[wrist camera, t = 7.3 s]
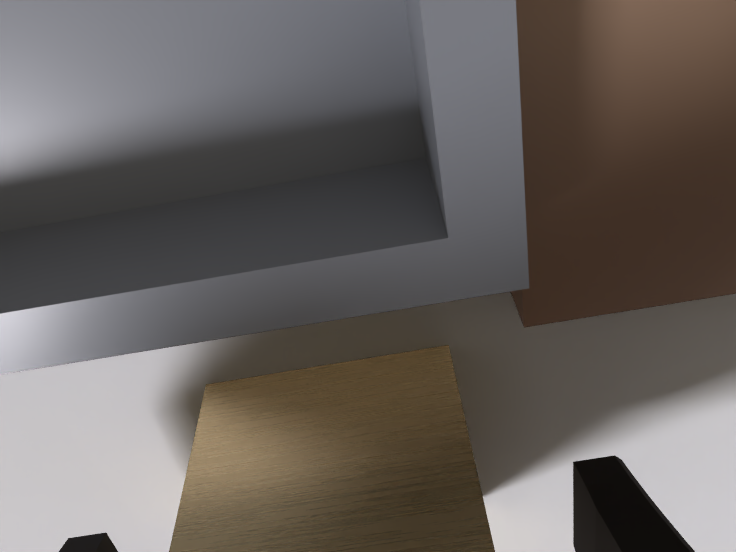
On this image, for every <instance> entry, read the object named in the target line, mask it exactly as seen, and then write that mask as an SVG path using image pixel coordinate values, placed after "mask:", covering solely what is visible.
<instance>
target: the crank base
mask: <svg viewBox="0 0 736 552" xmlns="http://www.w3.org/2000/svg"><path fill="white" fill-rule="evenodd" d="M516 14H517V35H518V57H519V78H520V100H521V121H522V143H523V164H524V186H525V207H526V229H527V250H528V272H529V288H528V289H522V290H516V291H510V292H511V294H512V297H513V300H514V302H515V305H516V308H517V310H518V313H519V316H520V318H521V321H522V323H523V326H524V327H530V326H536V325H542V324H548V323H554V322H561V321H567V320H573V319H579V318H586V317H592V316H598V315H604V314H611V313H617V312H623V311H629V310H636V309H642V308H648V307H654V306H661V305H667V304H673V303H679V302H686V301H692V300H698V299H704V298H710V297H717V296H723V295H729V294H735V293H736V0H516Z"/></svg>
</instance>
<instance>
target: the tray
mask: <svg viewBox="0 0 736 552" xmlns="http://www.w3.org/2000/svg"><path fill="white" fill-rule="evenodd" d="M528 288H529V272H528V250H527V229H526V207H525V186H524V164H523V143H522V121H521V100H520V78H519V57H518V35H517V14H516V0H0V375H2V374H8V373H14V372H20V371H26V370H33V369H39V368H45V367H51V366H57V365H63V364H69V363H75V362H82V361H88V360H94V359H100V358H106V357H112V356H118V355H124V354H130V353H137V352H143V351H149V350H155V349H161V348H167V347H173V346H179V345H186V344H192V343H198V342H204V341H210V340H216V339H222V338H228V337H235V336H241V335H247V334H253V333H259V332H265V331H271V330H277V329H284V328H290V327H296V326H302V325H308V324H314V323H320V322H326V321H332V320H339V319H345V318H351V317H357V316H363V315H369V314H375V313H381V312H388V311H394V310H400V309H406V308H412V307H418V306H424V305H430V304H437V303H443V302H449V301H455V300H461V299H467V298H473V297H479V296H486V295H492V294H498V293H504V292H510V291H516V290H522V289H528Z"/></svg>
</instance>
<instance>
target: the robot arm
mask: <svg viewBox="0 0 736 552" xmlns="http://www.w3.org/2000/svg"><path fill="white" fill-rule="evenodd" d="M573 497H574V548H575V551H576V552H695V551H694V550H693V549H692V548H691V547H690V545H689V544H688V543H687V542H686V541H685V540H684V538H683V537H682V536H681V535H680V534H679V532H678V531H677V530H676V529H675V528H674V526H673V525H672V524H671V523H670V522H669V520H668V519H667V518H666V517H665V516H664V514H663V513H662V512H661V511H660V509H659V508H658V507H657V506H656V504H655V503H654V502H653V501H652V500H651V498H650V497H649V496H648V494H647V493H646V492H645V491H644V489H643V488H642V487H641V485H640V484H639V483H638V481H637V480H636V479H635V477H634V476H633V475H632V473H631V472H630V471H629V469H628V468H627V467H626V465H625V464H624V462H623V461H622V460H621V459H619V458H618V457H616V456H609V457H602V458H596V459H589V460H583V461H576V462H573ZM59 552H118V551H117V549H116V548H115V546H114V544H113V543H112V541H111V540H110V538H109V536H108V535H107V533H101V534H94V535H87V536H81V537H74V538H68V540H67V541H66V542H65V544H64V545H63V547H62V548H61V549H60V551H59Z"/></svg>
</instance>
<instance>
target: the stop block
mask: <svg viewBox="0 0 736 552" xmlns="http://www.w3.org/2000/svg"><path fill="white" fill-rule="evenodd" d="M169 552H495V550H494V545H493V541H492V537H491V532H490V528H489V523H488V519H487V514H486V510H485V505H484V501H483V497H482V492H481V488H480V483H479V479H478V474H477V470H476V465H475V461H474V457H473V452H472V448H471V443H470V439H469V434H468V430H467V425H466V421H465V417H464V412H463V408H462V403H461V399H460V394H459V390H458V385H457V381H456V376H455V372H454V368H453V363H452V359H451V354H450V350H449V345H445V346H439V347H433V348H427V349H421V350H415V351H409V352H402V353H396V354H390V355H384V356H378V357H372V358H366V359H360V360H353V361H347V362H341V363H335V364H329V365H323V366H317V367H310V368H304V369H298V370H292V371H286V372H280V373H274V374H268V375H261V376H255V377H249V378H243V379H237V380H231V381H225V382H218V383H212V384H206V387H205V391H204V396H203V400H202V405H201V410H200V414H199V419H198V423H197V428H196V432H195V437H194V441H193V446H192V450H191V455H190V459H189V464H188V469H187V473H186V478H185V482H184V487H183V491H182V496H181V500H180V505H179V509H178V514H177V519H176V523H175V528H174V532H173V537H172V541H171V546H170V550H169Z"/></svg>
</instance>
